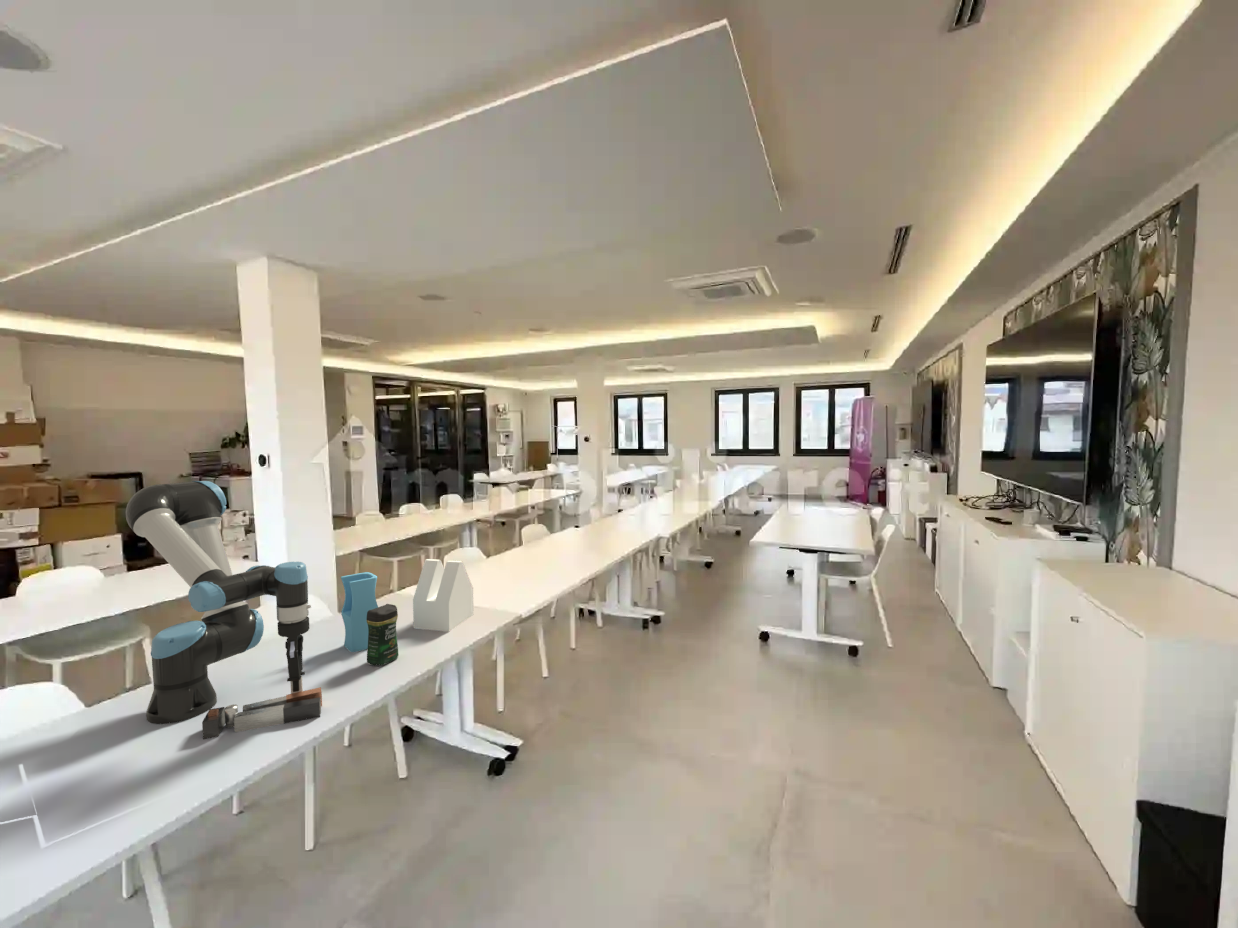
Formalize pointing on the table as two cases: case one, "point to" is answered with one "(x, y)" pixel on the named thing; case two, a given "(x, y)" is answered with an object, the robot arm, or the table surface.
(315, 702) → the tongs fixed
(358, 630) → the vase
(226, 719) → the tongs arm
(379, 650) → the coffee jar
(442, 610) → the white slotted block
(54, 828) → the table surface
